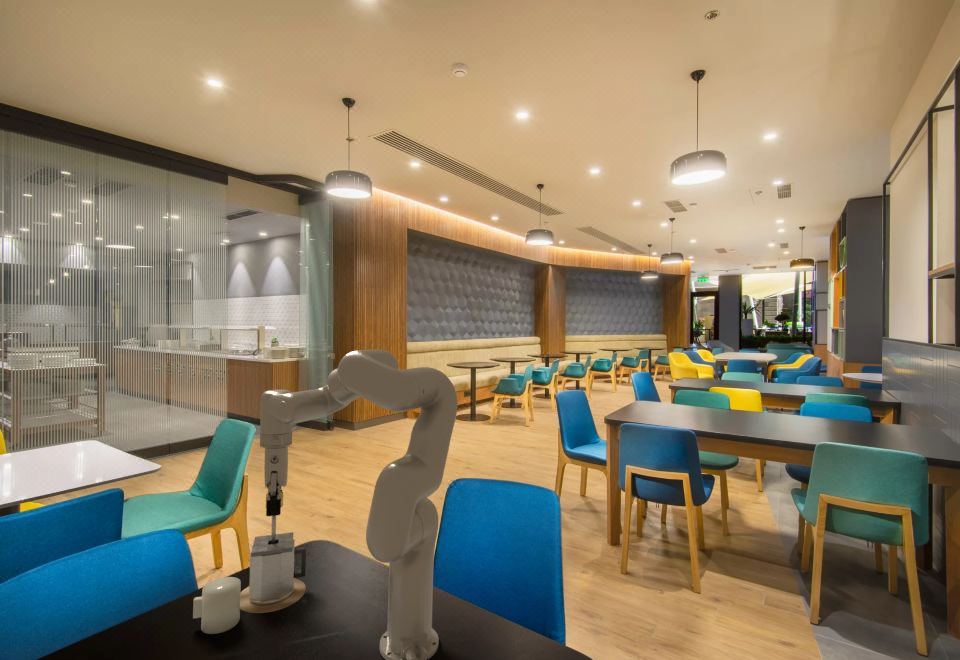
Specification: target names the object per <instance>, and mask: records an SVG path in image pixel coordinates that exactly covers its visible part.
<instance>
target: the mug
mask: <svg viewBox="0 0 960 660" xmlns="http://www.w3.org/2000/svg"><path fill="white" fill-rule="evenodd" d="M241 582H242V581H241V579H240V578H238V577H236V576H235V577H234V576H226V577H220V578H216V579H214V580H211V581H209V582H207V583H206V584H205V585H204V586H203V588H202V590H201V591H202V593H201V596H196V597H195V596H194V598H193V602H192V603H193V607H192V610H193V611H192V619H199V618H200V619H201V622H200V623H201V624H200V630H201V631H202V633H204V634H207V635H214V634H215V635H216V634H220V633H225V632H227V631H230V630H231V629H233V628H234V627H236V625H238V623H239V622H240V619H241V617H240V615H241V613H240V612H241V609H240V593H241V589H242V587H241V586H242V585H241V584H242V583H241Z"/></svg>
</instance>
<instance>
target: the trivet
mask: <svg viewBox="0 0 960 660" xmlns="http://www.w3.org/2000/svg"><path fill="white" fill-rule="evenodd" d="M293 584H294V592H293V594H292V595H291V596H290V597H289V598H288V599H286V600H285V601H283V602H280V603H277V604H274V605H268V606H258V605H254V604H252V603H251V602H250V601H249V586H247V587H246V588H244V589H243V590H242V591H240V611H243V612H245V613H252V614H264V613H267V614H268V613H271V612H276V611H280V610H282V609H283V610H284V609H286V608H287V607H290V606H291V605H293V604H295V603H296V602H298V601H299V600H300V599H301V598H302V597H303V596H304V595H305V593H306V589H307V588H306V584H305V583H304V582H303V581H302V580H300V579H298V578H294V583H293Z"/></svg>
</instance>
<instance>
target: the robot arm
mask: <svg viewBox="0 0 960 660" xmlns="http://www.w3.org/2000/svg"><path fill="white" fill-rule="evenodd" d="M399 368H400V367H399V362H398V360H397V358H396V357H395V355H394V354H393V353H392V352H390V351H387V350H384V349H378V348H377V349H376V348H375V349H356V350H353V351H349V352H348V353H346V354H345V355H344V356H342V358H341V359H340V360H339V363H338V366H337V368H335V369H333V370H332V371H331V372H330V373H329V374H328V377H327V380H326V385H324V386H321V387H318V388H316V389H308V390H300V391H291V390H288V389H269V390H266V391H264V392H263V393H262V394H261V397H260V421H259V422H260V423H259V425H260V426H259V430H260V431H259V447H260V448H263V449H264V464H263V465H264V471H263V472H264V487H265V488H266V489H267V493H268V498H267V503H266V502H265V509H266V510H265V512H266V513H265V516H266V517H272V516H276V517H277V516H280V515H281V510H282V509H281V508H282V507H281V498H280V491H282V492H283V489H282V487H283V488H286V486H287V484H288V471H289V470H288V465H289V448H288V447H290V446H291V445H293V425H294V424H295V425H296V424H299V423H304V422H309V421H313V420H317V419H322V418H324V417H325V418H326V417H327V416H330V415H332V414H334V413H336V412H338V411H341V410H343V409H344V408H346V407H348V406H349V405H350V404H351V403H352V402H354V401H357V400H358V399H359V398H362V399H365V400H366V401H369V402H371V403H373V404H375V405H377V406H379V407H381V408H383V409H385V410H387V411H389V412H393V413H394V412H395V413H403V412H408V411H412V410H416V409H420V412H419V414H418V417H417V418H416V420H415V422H414V424H413V427H412V428H411V429H412V430H411V434H410V438H409V443H408V448H407V450H406V453H405V454H404V455H403V456H401V457H400V458H397V459H396V460H394V461H392V462H389V463H388V464H387V465H386V466H385V467H383V469H382V470H381V471H380V473H379V475H378V477H377V480H376V481H375V486H374V490H373V494H372V500H371V505H370V509H369V514H368V518H367V523H366V529H365V540H366V541H365V542H366V546H367V549H368V551H369V553H370V555H371V556H372V557H373V559H375V560H377V561H378V562H380V563H383V564H384V563H386V564H388V596H387V628H386V629H387V630H386V631H385V632H384V633H383V634H382V636H381V637H380V640H379V652H380V655H381V656H382V657H383V659H384V660H427V659H428V660H430V659H431V658H432V657H433V656H434V655H435V654H436V653H437V652H438V648H439V644H440V643H439V639H440V637H439V635H438V633H437V631H436V630H435V629H434V627H433V600H434V599H433V592H434V588H433V587H434V567H435V565H434V563H435V562H434V560H435V559H434V558H435V548H436V542H437V536H438V530H439V511H438V510H437V507H436V506H435V503H434V502H433V501H432V500H431V499H429V497H430V496H431V495H433V494H434V493H435V492H436V491H438V489H440V487H441V485H442V482H443V477H444V473H445V468H446V463H447V459H448V454H449V450H450V443H451V439H452V435H453V432H454V431H453V430H454V427H455V422H456V420H457V413H458V396H457V391H456V388H455V386H454V384H453V382H452V381H451V379H450V378H449V377H448V376H447V375H446V374H445V373H443V372H442V371H441V370H439V369H437V368H433V367H429V366H428V367H426V366H425V367H424V366H423V367H420V366H419V367H413V368H405V369H399ZM277 491H278V492H277Z"/></svg>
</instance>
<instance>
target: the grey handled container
mask: <svg viewBox="0 0 960 660" xmlns="http://www.w3.org/2000/svg"><path fill="white" fill-rule="evenodd" d="M295 542H296V540H295V539H294V531H292V532H285V533H276V542H275V544H271V534H266V535H260V536H259V535H258V536H254V540H253V544H252V545H251V548H250V549H251V550H250V553H249V554H250V556H249V583H248V584H249V585H248V587H249V601H250V602H251V603H252V604H254V605H258V606H268V605H274V604H277V603H280V602H283V601H285V600H286V599H288V598H289V597H290V596H291V595H292V594H293V592H294V584H293V583H294V578H296V579H298V578H304V577H306V559H307V545H305V546H299V547H298V546H297V547H295V546H296V545H295ZM295 555H301V563H300V564H301V565H300V567H301V568H300V569H298V570H295Z"/></svg>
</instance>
